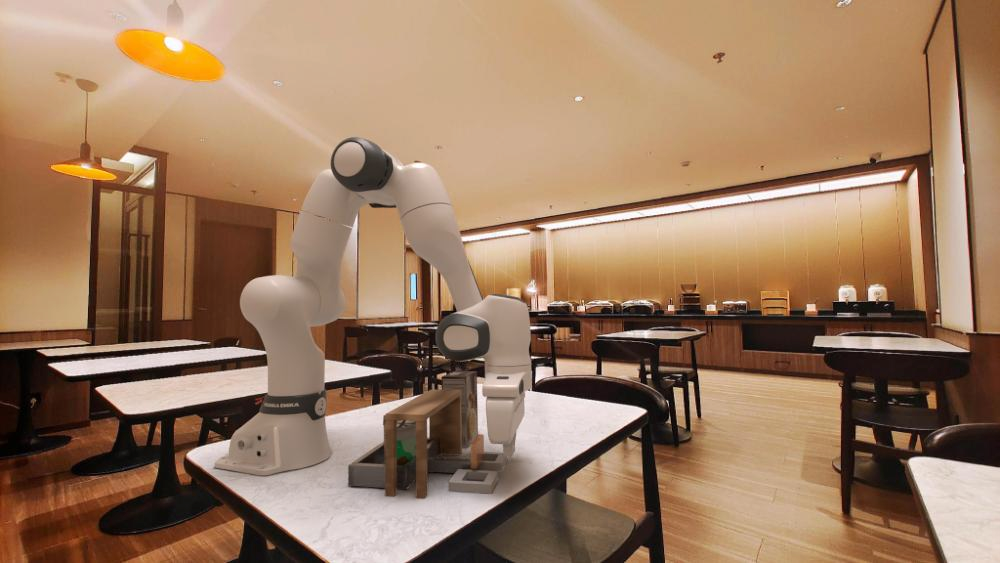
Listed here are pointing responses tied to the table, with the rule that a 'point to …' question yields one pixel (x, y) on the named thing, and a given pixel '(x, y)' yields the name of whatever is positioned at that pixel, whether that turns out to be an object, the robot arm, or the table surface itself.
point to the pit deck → (479, 475)
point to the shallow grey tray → (410, 465)
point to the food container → (404, 440)
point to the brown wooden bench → (424, 433)
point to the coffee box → (465, 401)
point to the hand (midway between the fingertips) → (509, 454)
